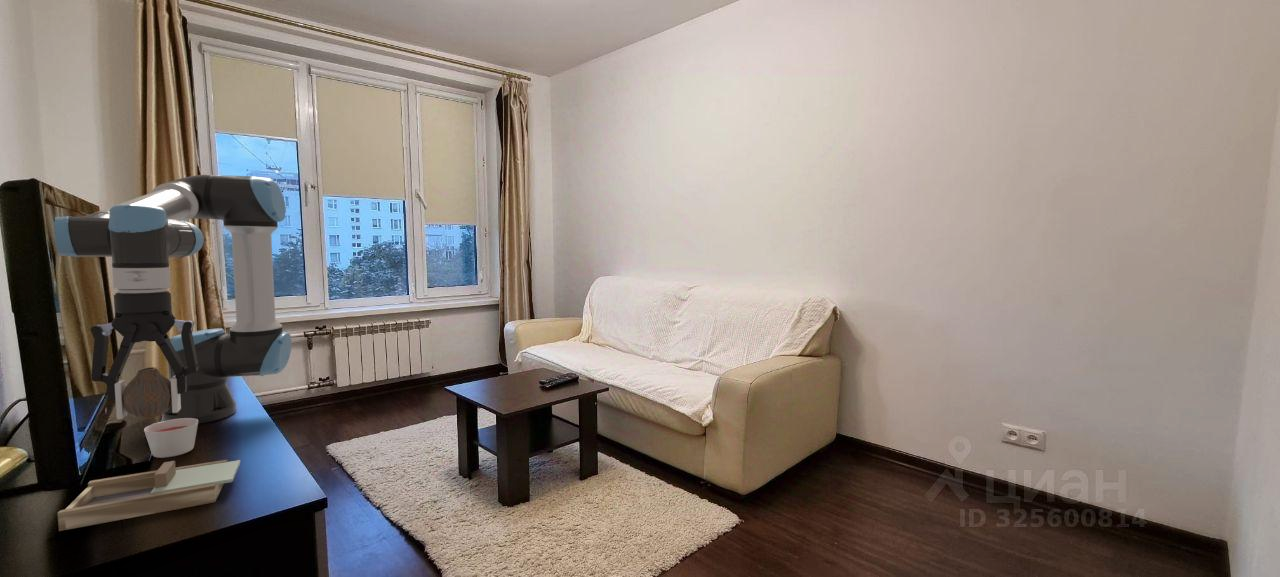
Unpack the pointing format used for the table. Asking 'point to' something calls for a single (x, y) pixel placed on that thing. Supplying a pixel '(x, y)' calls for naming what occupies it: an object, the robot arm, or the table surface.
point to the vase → (147, 394)
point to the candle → (171, 437)
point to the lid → (193, 476)
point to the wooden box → (131, 499)
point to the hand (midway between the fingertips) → (150, 413)
